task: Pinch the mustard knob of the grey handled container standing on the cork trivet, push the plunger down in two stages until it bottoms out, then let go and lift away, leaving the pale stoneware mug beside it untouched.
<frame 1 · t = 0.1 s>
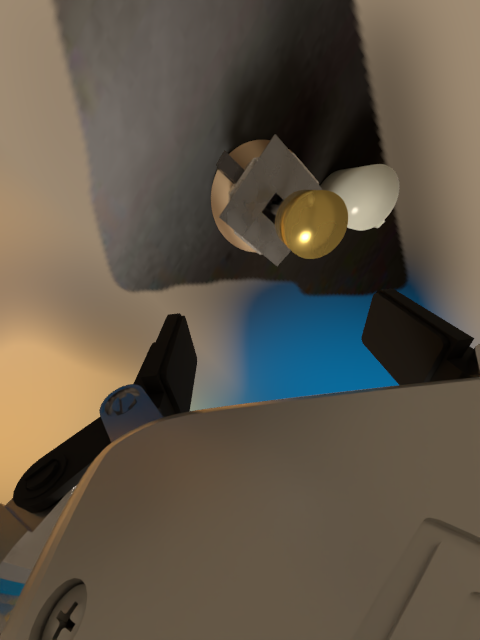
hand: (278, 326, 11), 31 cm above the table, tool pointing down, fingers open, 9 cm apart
plunger: (283, 213, 21), point 17 cm above the table, slide at 0.0 cm
trivet: (259, 202, 35), on the table
grey handled container: (259, 202, 35), resting on trivet
mug: (338, 197, 35), on the table
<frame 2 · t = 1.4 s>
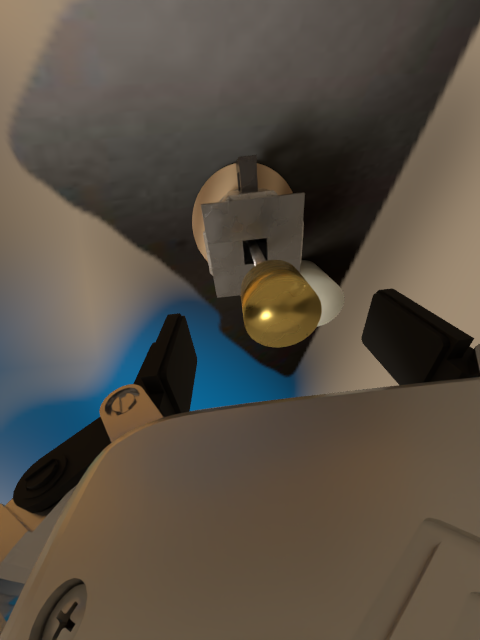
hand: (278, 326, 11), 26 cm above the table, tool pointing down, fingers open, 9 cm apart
plunger: (260, 262, 18), point 17 cm above the table, slide at 0.0 cm
trivet: (245, 227, 32), on the table
grey handled container: (245, 227, 32), resting on trivet
mug: (299, 280, 38), on the table
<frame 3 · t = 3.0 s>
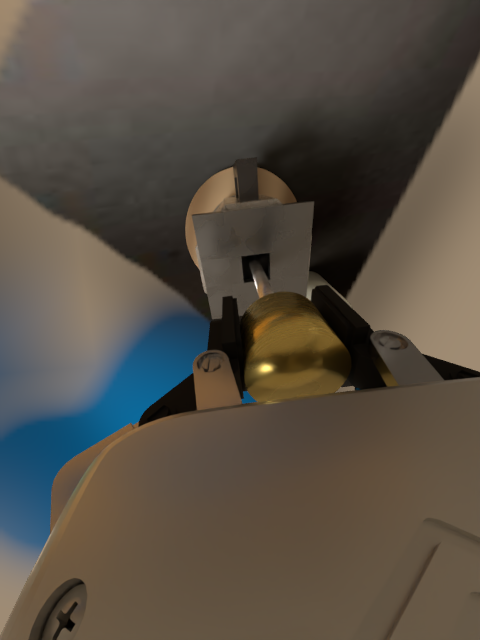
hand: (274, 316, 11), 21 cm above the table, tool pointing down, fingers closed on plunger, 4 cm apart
plunger: (262, 283, 15), point 17 cm above the table, slide at 0.0 cm, touching gripper
trivet: (244, 236, 30), on the table
grey handled container: (244, 237, 29), resting on trivet
mug: (302, 292, 35), on the table
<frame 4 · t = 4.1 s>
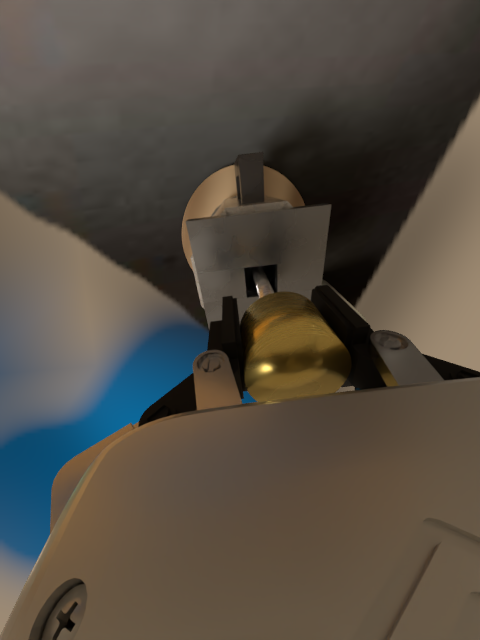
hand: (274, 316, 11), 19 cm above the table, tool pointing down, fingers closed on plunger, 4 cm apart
plunger: (262, 283, 15), point 14 cm above the table, slide at 3.0 cm, touching gripper
trivet: (245, 240, 27), on the table
grey handled container: (246, 241, 27), resting on trivet
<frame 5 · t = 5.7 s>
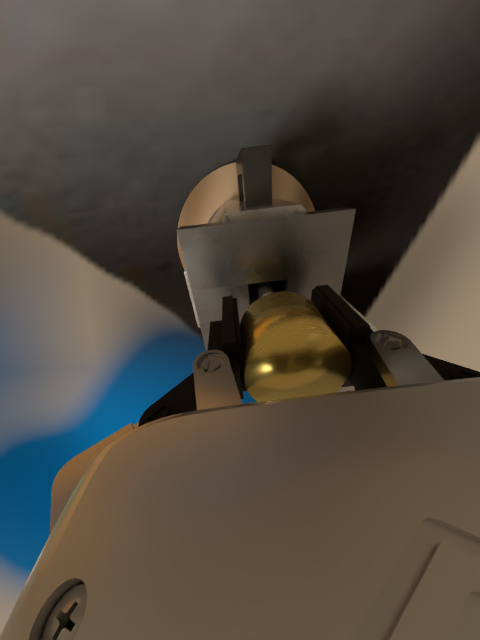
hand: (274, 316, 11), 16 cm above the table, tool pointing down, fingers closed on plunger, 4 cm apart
plunger: (262, 283, 15), point 11 cm above the table, slide at 5.9 cm, touching gripper
trivet: (248, 246, 25), on the table
grey handled container: (248, 247, 24), resting on trivet
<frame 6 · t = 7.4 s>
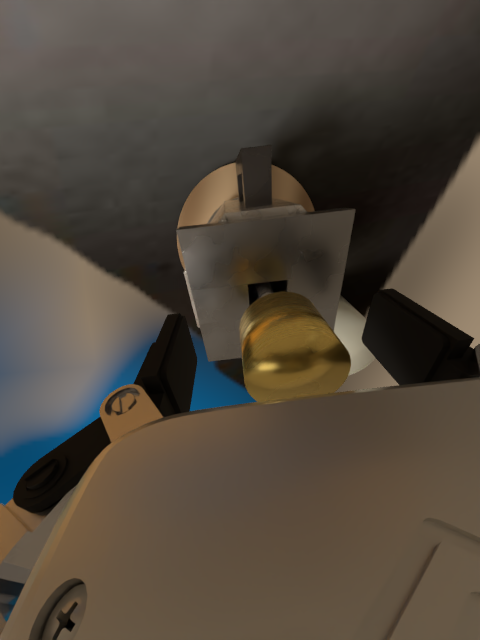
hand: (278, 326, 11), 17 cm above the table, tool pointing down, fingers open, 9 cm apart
plunger: (262, 283, 15), point 11 cm above the table, slide at 5.9 cm
trivet: (247, 246, 25), on the table
grey handled container: (248, 247, 24), resting on trivet
mug: (315, 310, 30), on the table
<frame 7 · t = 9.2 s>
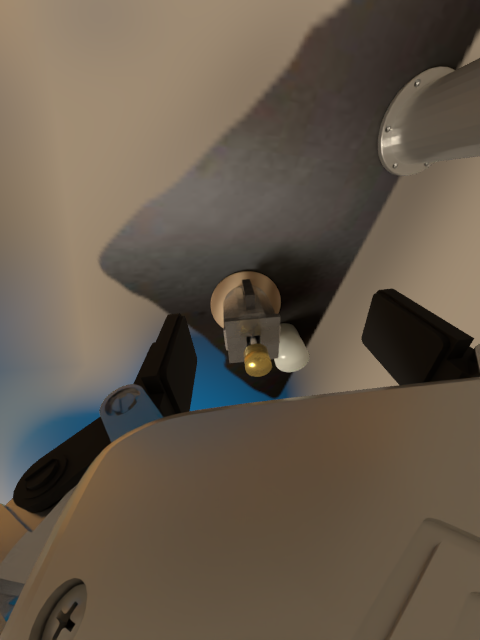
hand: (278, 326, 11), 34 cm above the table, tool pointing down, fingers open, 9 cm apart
plunger: (251, 332, 39), point 11 cm above the table, slide at 5.9 cm
trivet: (245, 304, 48), on the table
grey handled container: (246, 305, 48), resting on trivet
mug: (282, 335, 54), on the table
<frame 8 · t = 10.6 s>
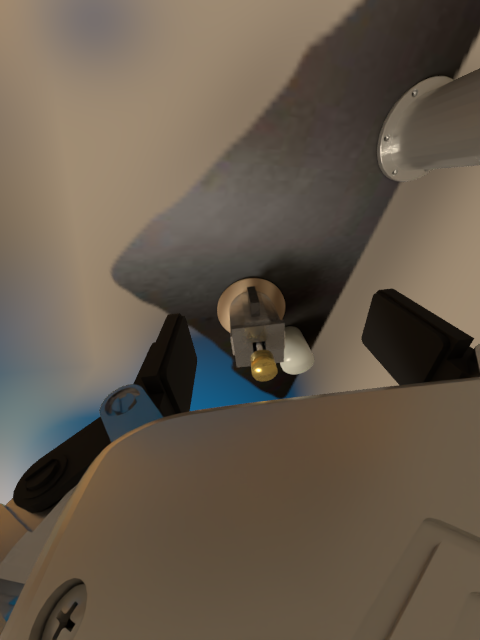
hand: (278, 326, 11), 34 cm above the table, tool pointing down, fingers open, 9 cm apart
plunger: (257, 338, 40), point 11 cm above the table, slide at 5.9 cm
trivet: (251, 309, 50), on the table
grey handled container: (251, 311, 49), resting on trivet
mug: (287, 338, 55), on the table
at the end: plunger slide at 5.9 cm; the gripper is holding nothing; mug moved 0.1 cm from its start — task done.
